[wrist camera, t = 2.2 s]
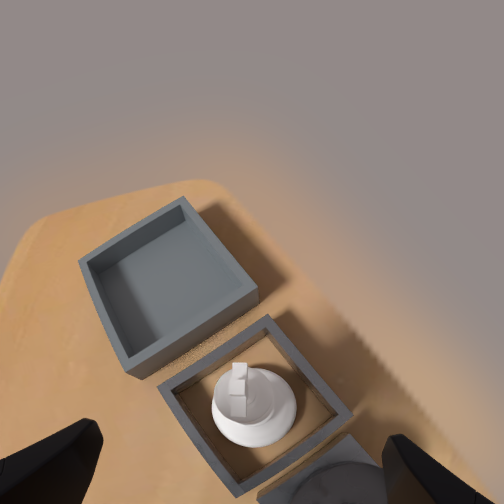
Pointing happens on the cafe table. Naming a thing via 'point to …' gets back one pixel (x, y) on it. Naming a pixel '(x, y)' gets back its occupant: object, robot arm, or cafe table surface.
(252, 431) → the chess piece
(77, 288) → the cafe table surface
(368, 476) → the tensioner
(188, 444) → the cafe table surface
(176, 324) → the tray
